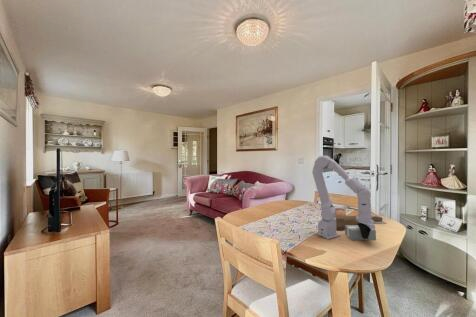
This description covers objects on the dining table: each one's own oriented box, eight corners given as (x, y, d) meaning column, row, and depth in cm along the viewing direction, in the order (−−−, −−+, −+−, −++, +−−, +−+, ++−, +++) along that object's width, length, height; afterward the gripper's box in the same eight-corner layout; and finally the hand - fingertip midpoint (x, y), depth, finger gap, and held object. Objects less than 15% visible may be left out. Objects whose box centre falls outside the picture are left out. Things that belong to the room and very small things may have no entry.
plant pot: (341, 222, 137) (341, 211, 137) (332, 219, 143) (332, 208, 143) (348, 220, 140) (348, 209, 140) (339, 217, 146) (339, 207, 146)
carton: (376, 239, 108) (375, 229, 108) (351, 239, 109) (351, 230, 109) (367, 234, 116) (367, 224, 116) (345, 234, 117) (344, 225, 117)
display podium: (367, 230, 121) (367, 218, 121) (335, 230, 122) (335, 218, 122) (362, 227, 126) (362, 215, 126) (332, 227, 128) (331, 216, 127)
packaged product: (356, 209, 150) (371, 209, 148) (357, 216, 150) (371, 216, 148) (369, 216, 132) (386, 216, 130) (369, 224, 132) (386, 224, 131)
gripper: (381, 215, 99) (382, 244, 99) (365, 208, 113) (365, 232, 114) (365, 215, 99) (366, 244, 100) (351, 208, 114) (352, 233, 114)
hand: (365, 238), depth 107 cm, fingers closed
